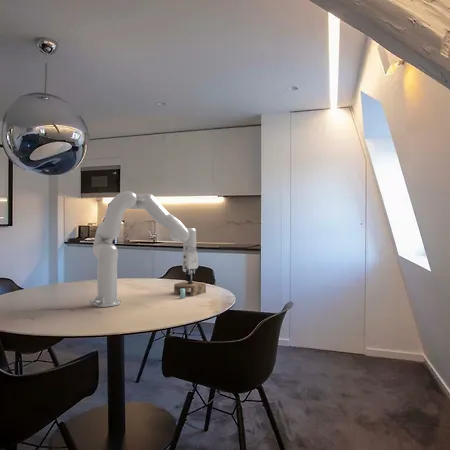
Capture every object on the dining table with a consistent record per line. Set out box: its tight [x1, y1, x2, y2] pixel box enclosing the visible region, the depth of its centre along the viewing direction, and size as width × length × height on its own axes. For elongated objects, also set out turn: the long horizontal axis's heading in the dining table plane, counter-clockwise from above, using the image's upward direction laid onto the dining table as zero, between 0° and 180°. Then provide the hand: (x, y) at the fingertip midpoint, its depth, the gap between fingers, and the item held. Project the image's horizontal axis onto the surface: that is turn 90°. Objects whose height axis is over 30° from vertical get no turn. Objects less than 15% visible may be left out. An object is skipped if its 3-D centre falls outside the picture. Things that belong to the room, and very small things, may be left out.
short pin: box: [179, 289, 186, 300], centre depth 197 cm, size 3×3×5 cm
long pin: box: [188, 269, 194, 284], centre depth 211 cm, size 3×3×12 cm
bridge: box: [173, 280, 207, 297], centre depth 211 cm, size 12×14×6 cm
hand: (190, 280), depth 211 cm, fingers closed on long pin, 2 cm apart
